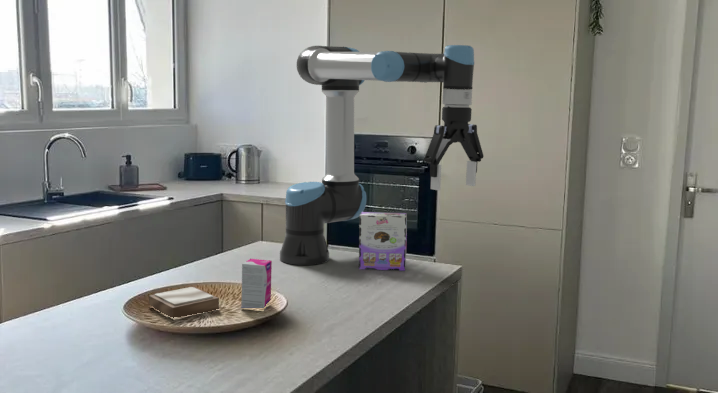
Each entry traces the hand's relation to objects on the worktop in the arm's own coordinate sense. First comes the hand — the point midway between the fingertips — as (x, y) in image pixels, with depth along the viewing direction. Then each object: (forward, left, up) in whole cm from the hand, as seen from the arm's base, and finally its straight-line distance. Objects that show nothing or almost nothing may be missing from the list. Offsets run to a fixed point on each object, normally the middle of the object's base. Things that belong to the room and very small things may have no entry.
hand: (453, 187), depth 188 cm
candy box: (-26, 0, -28) cm, 38 cm away
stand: (-28, -64, -27) cm, 75 cm away
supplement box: (-18, -50, -28) cm, 60 cm away
